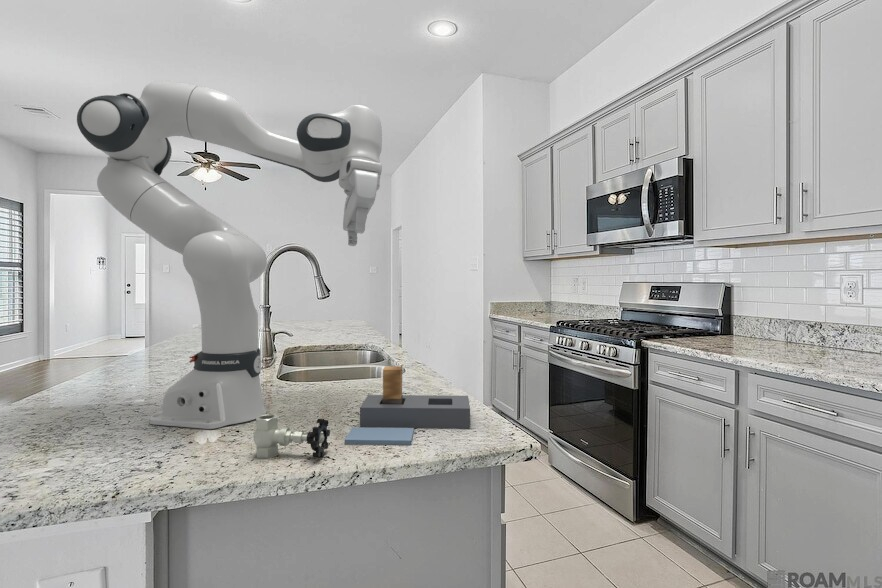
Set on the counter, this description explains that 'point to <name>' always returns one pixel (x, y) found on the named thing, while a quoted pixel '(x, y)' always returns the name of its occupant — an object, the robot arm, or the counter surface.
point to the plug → (392, 385)
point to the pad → (380, 436)
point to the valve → (287, 436)
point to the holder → (416, 412)
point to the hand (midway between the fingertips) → (355, 239)
